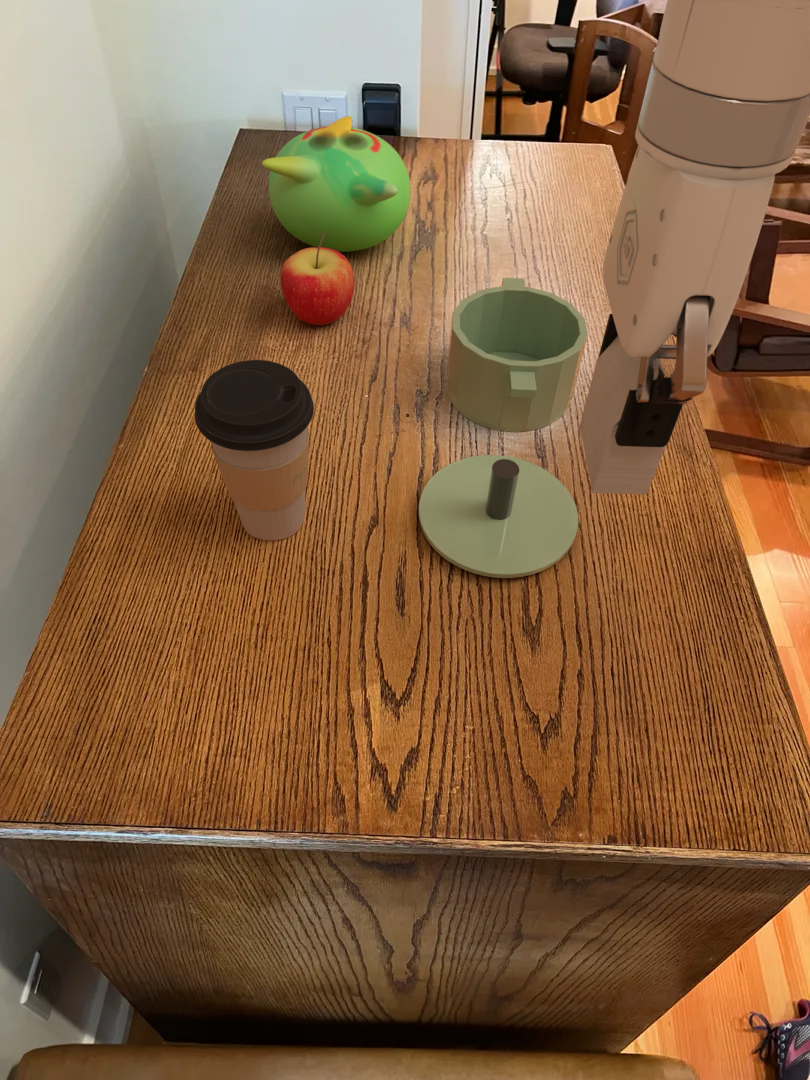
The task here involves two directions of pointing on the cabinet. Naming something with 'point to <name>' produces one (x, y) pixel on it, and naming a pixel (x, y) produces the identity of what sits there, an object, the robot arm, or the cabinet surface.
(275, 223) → the cabinet surface
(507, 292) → the pot
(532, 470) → the lid
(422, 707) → the cabinet surface
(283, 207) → the toy bird
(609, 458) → the tea bag
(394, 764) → the cabinet surface
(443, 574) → the cabinet surface
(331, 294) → the apple
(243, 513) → the coffee cup
